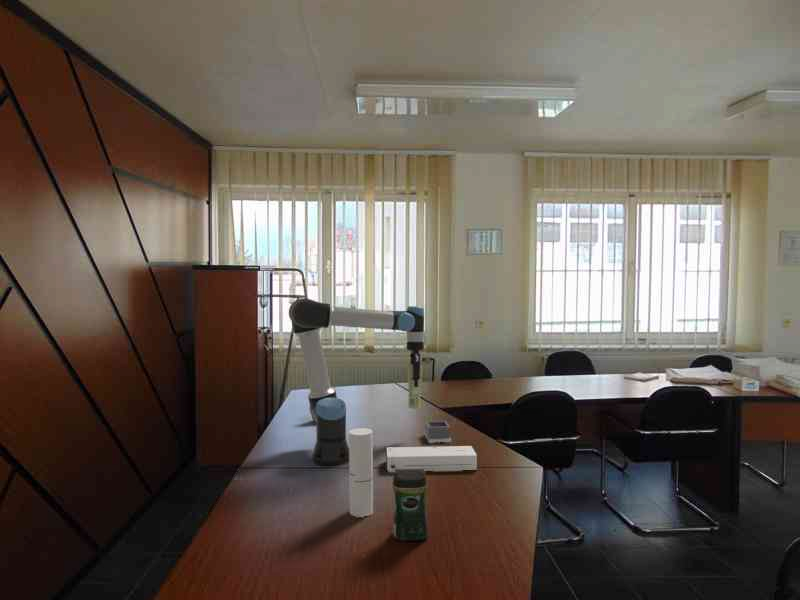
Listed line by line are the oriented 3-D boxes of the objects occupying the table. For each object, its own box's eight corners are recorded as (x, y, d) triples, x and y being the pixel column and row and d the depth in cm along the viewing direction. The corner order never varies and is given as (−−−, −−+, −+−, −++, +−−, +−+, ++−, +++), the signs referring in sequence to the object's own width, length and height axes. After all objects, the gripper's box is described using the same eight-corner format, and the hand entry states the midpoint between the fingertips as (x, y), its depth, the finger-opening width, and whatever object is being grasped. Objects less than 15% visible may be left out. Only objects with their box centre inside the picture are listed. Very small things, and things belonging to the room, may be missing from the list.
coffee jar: (426, 528, 145) (426, 464, 144) (428, 542, 137) (428, 475, 136) (393, 528, 145) (392, 464, 144) (392, 542, 137) (392, 475, 136)
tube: (414, 405, 230) (415, 363, 230) (423, 407, 227) (423, 364, 226) (406, 407, 226) (406, 364, 226) (414, 409, 223) (415, 365, 222)
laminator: (471, 461, 200) (472, 445, 200) (478, 472, 188) (478, 456, 188) (386, 462, 199) (386, 447, 199) (386, 474, 187) (386, 457, 187)
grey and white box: (451, 442, 223) (451, 427, 223) (428, 443, 222) (428, 428, 221) (445, 434, 235) (445, 420, 234) (424, 434, 234) (424, 420, 233)
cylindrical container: (360, 504, 160) (360, 426, 160) (377, 511, 156) (377, 431, 155) (344, 512, 155) (344, 432, 154) (361, 519, 150) (361, 436, 149)
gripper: (426, 343, 217) (426, 397, 218) (420, 338, 235) (420, 388, 235) (409, 343, 216) (409, 397, 217) (404, 338, 234) (404, 389, 234)
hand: (414, 392), depth 226 cm, fingers closed on tube, 4 cm apart
